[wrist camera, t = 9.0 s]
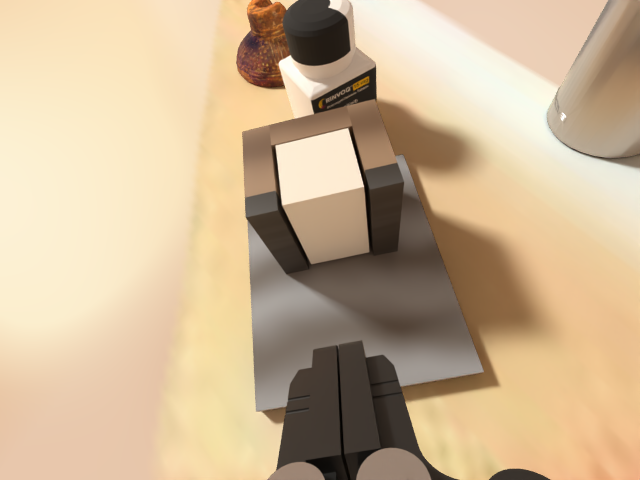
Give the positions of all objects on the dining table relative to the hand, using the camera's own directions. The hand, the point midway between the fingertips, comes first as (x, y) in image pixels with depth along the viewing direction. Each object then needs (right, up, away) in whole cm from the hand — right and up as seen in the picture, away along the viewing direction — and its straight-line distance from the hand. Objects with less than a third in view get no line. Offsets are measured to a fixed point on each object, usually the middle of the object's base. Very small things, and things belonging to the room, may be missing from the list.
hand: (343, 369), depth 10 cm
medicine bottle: (+1, +18, +27) cm, 32 cm away
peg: (+1, +5, +18) cm, 19 cm away
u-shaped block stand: (+1, +1, +18) cm, 18 cm away
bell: (-6, +29, +35) cm, 45 cm away
